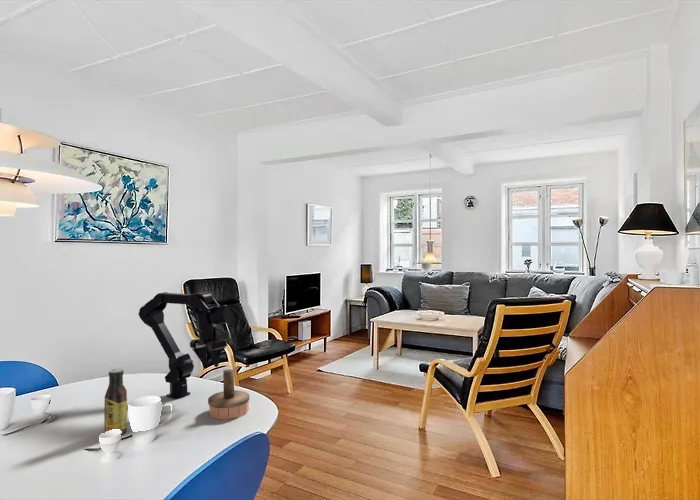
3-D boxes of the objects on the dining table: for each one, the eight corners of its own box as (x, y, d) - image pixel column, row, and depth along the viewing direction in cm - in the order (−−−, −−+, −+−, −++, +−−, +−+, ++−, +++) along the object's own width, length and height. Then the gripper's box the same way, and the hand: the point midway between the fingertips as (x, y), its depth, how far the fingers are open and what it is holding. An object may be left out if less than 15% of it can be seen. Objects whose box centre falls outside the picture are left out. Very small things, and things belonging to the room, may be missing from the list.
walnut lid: (203, 409, 143) (203, 377, 143) (212, 394, 157) (212, 365, 157) (246, 407, 144) (246, 376, 144) (251, 392, 158) (251, 364, 158)
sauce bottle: (101, 433, 134) (100, 370, 134) (122, 427, 138) (122, 366, 138) (108, 439, 129) (107, 374, 129) (130, 433, 134) (129, 369, 134)
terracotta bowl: (201, 414, 148) (201, 403, 148) (229, 402, 159) (229, 391, 159) (228, 422, 142) (228, 410, 142) (255, 409, 153) (255, 398, 153)
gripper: (237, 321, 163) (242, 362, 162) (213, 321, 176) (217, 359, 175) (210, 327, 155) (215, 370, 154) (187, 326, 168) (191, 366, 167)
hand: (210, 365), depth 163 cm, fingers open, 9 cm apart
